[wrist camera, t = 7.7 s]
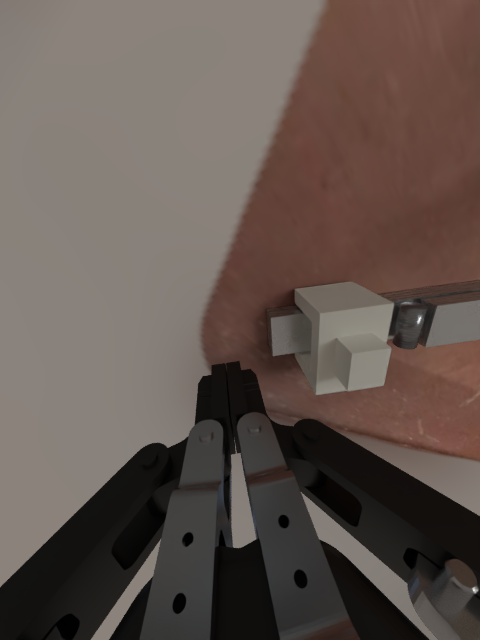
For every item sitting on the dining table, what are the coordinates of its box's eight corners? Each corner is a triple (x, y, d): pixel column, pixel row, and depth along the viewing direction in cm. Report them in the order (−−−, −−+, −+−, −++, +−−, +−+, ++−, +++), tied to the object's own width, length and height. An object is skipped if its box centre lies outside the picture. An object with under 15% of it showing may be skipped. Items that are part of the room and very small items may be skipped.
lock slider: (294, 356, 18) (327, 415, 13) (294, 288, 16) (334, 327, 10) (344, 349, 18) (395, 404, 13) (351, 281, 16) (418, 315, 11)
